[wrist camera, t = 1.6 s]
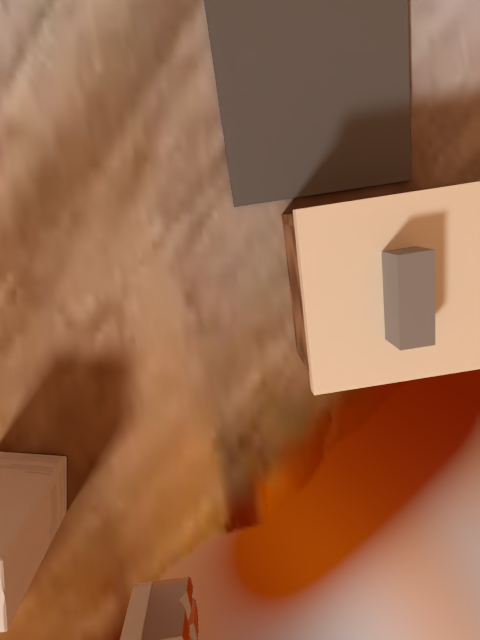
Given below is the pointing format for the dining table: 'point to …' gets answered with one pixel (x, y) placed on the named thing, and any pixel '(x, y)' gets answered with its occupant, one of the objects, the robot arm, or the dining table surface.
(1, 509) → the supplement box
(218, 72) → the mat
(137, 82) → the dining table surface
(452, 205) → the lid panel
